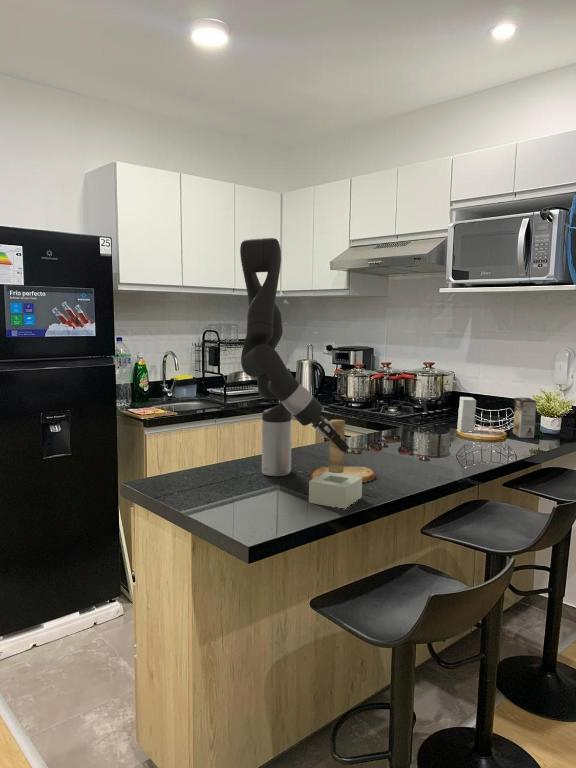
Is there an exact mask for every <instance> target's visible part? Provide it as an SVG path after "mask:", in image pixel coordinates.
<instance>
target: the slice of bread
mask: <svg viewBox="0 0 576 768" xmlns="http://www.w3.org/2000/svg"><path fill="white" fill-rule="evenodd" d="M325 472H329V466H321V467H319V468H317V469H316V470H314V471H313V472H312V473H311V475H310V480H312V479H314V478H316V477H318V476H319V475H321V474H323V473H325ZM338 474H344V475H350V476H356V477H362V482H365V483H368V482H367V481H369V482H372V481H373V480H374V478H376V474H375V472H374V471H373V470H372V469H371V468H369V467H366V466H344V469H343V472H342V473H338ZM371 480H372V481H371Z"/></svg>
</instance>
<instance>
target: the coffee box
mask: <svg viewBox="0 0 576 768" xmlns="http://www.w3.org/2000/svg"><path fill="white" fill-rule="evenodd" d="M513 408H514V409H513V424H512V434H514V435H515V436H517V437H518V438H526V439H527V438H529V439H530V438H531V439H532V438H533V439H534V437H535V426H536V414H537V400H534V399H533V398H530V397H515V398H514V407H513Z"/></svg>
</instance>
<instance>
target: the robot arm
mask: <svg viewBox="0 0 576 768" xmlns="http://www.w3.org/2000/svg"><path fill="white" fill-rule="evenodd" d="M239 250H240V251H239V254H240V255H239V256H240V262H241V268H242V272H243V278H244V283H245V287H246V294H247V300H248V310H247V318H246V319H247V320H246V321H247V323H246V335H245V338H244V342H243V347H242V350H241V355H240V364H241V369H242V371H243V372H244V374H245V375H247V376H249V377H252V378H254V377H255V378H256V380H257V382H256V384H257V385H256V386H257V392H258V393H259V396H260V397H261V398H263V399H269V400H270V399H273V400H278V401H279V404H277V405H275V406H273V407H271V408H267V409H265V410H263V412H262V414H261V415H262V416H261V421H262V423H261V425H262V426H261V473H262V475H266V476H270V477H283V476H287V475H290V474H291V471H292V442H291V441H292V416H293V417H294V419H296V420H297V421H298V423H299V424H300V425H302V426H304V427H305V426H308V425H310V424H312V425H311V426H312V428H314V429H315V430H316V431H317V432H319V433H320V434H321V435H322V436H323V437H324V438H326V439H328V440H329V441H330V440H331V441H332V443H334V444H335V445H336V446H337V447H338V448H339V449H340V450H341V451H342V452H344V453H345V452H346V451H347V450H348V449H349V448H350V446H349V445H348V444H347V442H345V440H344V441H343V440H342V439H341V438H340V435H339V434H338V433H337V432H336V431H335V428H334V427H333V426H332V425H331V424H330V421H329V420H328V419H327V418H326V416H324V415H320V414H321V413H322V411H323V408H324V407H323V405H322V403H321V402H319V401H318V400H317V399H316V397H315V396H314V395H313V394H312V393H311V392H310V391H309V390H308V389H307V388H305V387H304V385H302V384H301V383H300V382H299V381H298V380H297V379H296V377H294V376H293V373H292V372H291V371H290V370H288V368H287V366H286V364H285V363H284V361H283V359H282V358H281V356H280V354H279V353H278V352H277V350H276V347H277V346H278V344H279V342H280V340H281V339H282V336H283V321H282V320H283V319H282V312H281V310H280V308H279V307H278V305H277V304H276V297H277V292H278V291H277V290H278V286H279V279H280V271H281V267H282V266H281V264H282V249H281V245H280V241H278V239H276V238H274V237H266V238H263V237H262V238H250V239H243V240H242V241H241V243H240V249H239ZM258 273H267V274H266V277H265V280H264V282H263V284H262V285H261V283H260V281H259V277H258V275H257V274H258ZM334 434H335V435H336V436H335V437H334V438H333V439H332V436H333V435H334Z"/></svg>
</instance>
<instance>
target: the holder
mask: <svg viewBox="0 0 576 768" xmlns="http://www.w3.org/2000/svg"><path fill="white" fill-rule="evenodd" d="M361 497H363V483H362V477H356V476H350V475H344V474H338V473H331V472H325V473H323V474H321V475H319V476H318V477H316V478H314V479H312V480H311V479H309V481H308V503H309V504H315V505H321V506H324V507H330V506H331V508H335V507H338V508H337V509H340V508H345V509H346V508H347V507H349V506H350V505H351V504H353V503H354V502H356V501H357V500H358V499H360V498H361ZM361 499H362V498H361ZM361 499H360V500H361ZM357 502H358V501H357ZM357 502H356V503H357ZM354 504H355V503H354ZM354 504H353V505H354ZM350 507H351V506H350ZM350 507H349V508H350ZM345 509H344V510H345ZM347 509H348V508H347ZM347 509H346V510H347Z"/></svg>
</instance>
